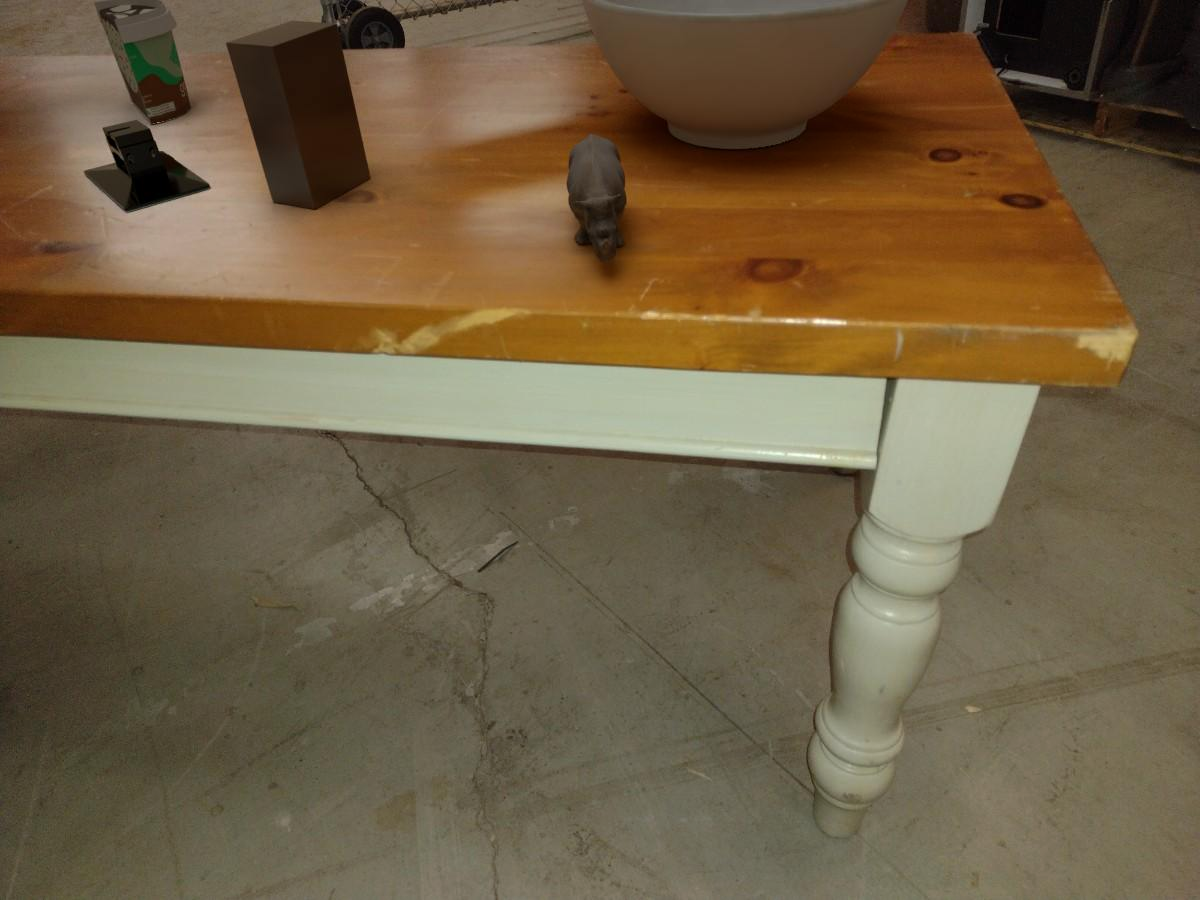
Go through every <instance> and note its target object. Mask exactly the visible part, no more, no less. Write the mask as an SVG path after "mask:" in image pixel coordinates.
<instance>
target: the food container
mask: <svg viewBox="0 0 1200 900" xmlns="http://www.w3.org/2000/svg"><path fill="white" fill-rule="evenodd" d="M93 4H94V7H95V9H96V13H97V16H98V18H99V22H100V24H101V25H102V28H103V31H104V32H105V35H106V38H107V41H108V43H109V46H110V49H111V51H112V54H113V57H114V59H115V61H116V65H117V67H118V69H119V73H120V75H121V77H122V80H123V83H124V85H125V88H126V91H127V93H128V96H129V98H130V101H131V103H133V104H132V106H133V107H134V108H135V107H136V108H137V109H138V110H139V111H140V112H141V113H142V114H141V113H140V112H139V111H138V110H137V109H136V108H135V109H136V110H137V111H138V112H139V113H140V114H141V115H142V116H143V118H144V119H145V118H146V119H147V120H148V121H149V122H150V123H151V124H153V123H157V122H162V121H166V120H169V119H172V120H174V119H173V118H175V119H177V118H179V117H181V116H183V114H184V115H185V114H187V113H188V112H190V110H192V104H191V100H190V96H189V92H188V89H187V85H186V80H185V77H184V73H183V69H182V65H181V61H180V56H179V53H178V49H177V45H176V41H175V38H174V34H173V30H174V29H175V28H177V26H178V23H177V21H176V20H175V17H174V16H173V14H172V12H171V10H170V8H168V7H167V6H166V4H165V3H164V1H163V0H100V1H99V0H98V1H94V2H93ZM146 119H145V120H146ZM147 120H146V121H147ZM148 121H147V122H148ZM169 121H170V120H169ZM149 122H148V123H149ZM166 122H167V121H166ZM150 123H149V124H150ZM162 123H163V122H162ZM151 124H150V125H151Z"/></svg>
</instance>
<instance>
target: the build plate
mask: <svg viewBox="0 0 1200 900" xmlns="http://www.w3.org/2000/svg"><path fill="white" fill-rule="evenodd" d="M101 130H102V132H103V134H104V137H105V142H106V143H107V146H108V148H109V151H110V154H111V156H112V158H113V161H114V162H112V163H108V164H105V165H104V164H103V165H100V166H97V167H93V168H89V169H85V170H83V173H84V176H86V178H87V179H89V180H90V181H91V182H92V183H93V184H94V185H95V186H96V187H98V189H100V190H101V192H103V193H104V194H105V195H106V196H107V197H108V198H110V200H112V201H113V202H114V203H115V204H116V205H117V206H118V207H120V209H121V210H122V211H124V212H125V213H130V212H133V211H137V210H141V209H143V208H144V209H145V208H148V207H150V206H154V205H157V204H161V203H165V202H168V201H171V200H175V199H179V198H182V197H187V196H190V195H193V194H195V193H200V192H202V191H206V190H209V189H211V185H210V183H209V182H208V181H206V180H205V179H203V178H202V177H200V176H199V175H198V174H196V173H195V172H193V170H190V169H189V168H188V167H187V166H185V165H183V164H182V163H181V162H180V161H178V160H176V158H174V157H173V156H171V155H170V154H169V153H167V152H165V151H164V150H160V149H159V147H158V144H157V141H156V140H155V138H154V135H153V132H152V130H151V128H150V127H148V126H147V125H146V124H144V123H143V122H141V121H139V120H138V119H132V120H129V121H124V122H121V123H116V124H111V125H107V126H103V127H101Z"/></svg>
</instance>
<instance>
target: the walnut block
mask: <svg viewBox="0 0 1200 900" xmlns="http://www.w3.org/2000/svg"><path fill="white" fill-rule="evenodd" d="M339 31H340V30H339V27H338V23H335V22H319V21H305V20H304V21H303V20H290V21H286V22H283V23H280V24H277V25H274V26H272V27H269V28H265V29H263V30H260V31H257V32H254V33H251V34H247V35H245V36H241V37H239V38H236V39H232V40H230V41H226V42H225V45H226V48H227V49H226V50H227V51H228V55H229V59H230V63H231V65H232V69H233V72H234V76H235V79H236V83H237V86H238V90H239V92H240V96H241V99H242V103H243V106H244V109H245V112H246V116H247V119H248V120H247V121H248V123H249V127H250V130H251V133H252V137H253V140H254V143H255V146H256V150H257V153H258V156H259V160H260V164H261V167H262V170H263V173H264V174H263V175H264V177H265V180H266V184H267V187H268V190H269V194H270V197H271V201H272V203H276V204H280V205H281V204H282V205H288V206H292V207H293V206H294V207H297V208H305V209H311V210H317V209H319V208H321V207H322V206H324V205H326V204H327V203H329V202H331V201H333V200H335V199H336V198H338V197H340V196H342V195H343V194H345V193H347V192H349V191H350V190H353V189H354V188H356V187H357V186H360V185H361V184H364V183H365V182H367V181H368V180H370V179H371V173H370V168H369V163H368V159H367V154H366V150H365V146H364V141H363V135H362V132H361V127H360V123H359V118H358V113H357V109H356V104H355V100H354V94H353V91H352V86H351V82H350V77H349V73H348V67H347V64H346V60H345V59H346V58H345V55H344V54H345V53H344V49H343V46H342V40H341V35H340V32H339Z"/></svg>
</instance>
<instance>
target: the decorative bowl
mask: <svg viewBox="0 0 1200 900" xmlns="http://www.w3.org/2000/svg"><path fill="white" fill-rule="evenodd" d="M581 1H582V5H583V9H584V13H585V15H586V18H587V21H588V24H589V26H590V29H591V32H592V35H593V37H594V39H595V42H596V44H597V46H598V48H599V50H600V52H601V54H602V56H603V57H604V59H605V61H606V62H607V64H608V66H609V67H610V69H611V70H612V72H613V73H614V75H615V76H616V79H618V81H619V83H621V84H622V85H623V87H624V88H625V90H627V91H628V92H629V94H630V95H631V96H632V97H633V98H634V99H636V101H637V102H639V103H640V104H641V105H642V106H643V107H644V108H646V109H647V110H649V111H650V112H652V113H653V114H654V115H656V116H658V117H659V118H661V119H663V120H665V121H666V122H667V128H668V132H669V133H670V134H671V135H672V136H673V137H675V138H676V139H678V140H680V141H681V142H684V143H688V144H690V145H693V146H698V147H703V148H710V149H718V148H719V150H750V148H752V149H759V147H761V148H767V147H766V146H768V147H772V146H771V145H773V146H777V145H781V144H783V143H782V142H784V143H786V142H785V141H787V142H789V141H788V140H790V141H792V140H794V139H796V138H797V136H798V135H799V136H801V135H802V134H803V133H804V132H805V130H806V127H807V124H808V120H810V119H812V118H814V117H816V116H818V115H819V114H821V113H823V112H824V111H826V110H827V109H829V108H830V107H832V106H834V104H836V103H837V102H838V101H839V100H841V99H842V98H843V97H844V96H845V95H846V94H848V93H849V92H850V91H851V90H852V89H853V88H854V87H855V86H856V85H857V84H858V82H859V81H860V80H861V79H862V78H863V77H864V76H865V75H866V73H868V71H869V70H870V68H871V67H872V66H873V64H875V62H876V60H877V59H878V58H879V56H880V54H881V53H882V51H883V50H884V48H885V47H886V45H887V44H888V42H889V40H890V38H891V37H892V35H893V33H894V31H895V30H896V27H897V25H898V23H899V21H900V19H901V17H902V15H903V13H904V11H905V8H906V7H907V5H908V1H909V0H581ZM803 131H804V132H803ZM802 132H803V133H802ZM801 133H802V134H801ZM800 134H801V135H800ZM799 136H798V137H799ZM795 137H796V138H795ZM793 138H794V139H793ZM791 139H792V140H791ZM780 143H781V144H780ZM776 144H777V145H776Z"/></svg>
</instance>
